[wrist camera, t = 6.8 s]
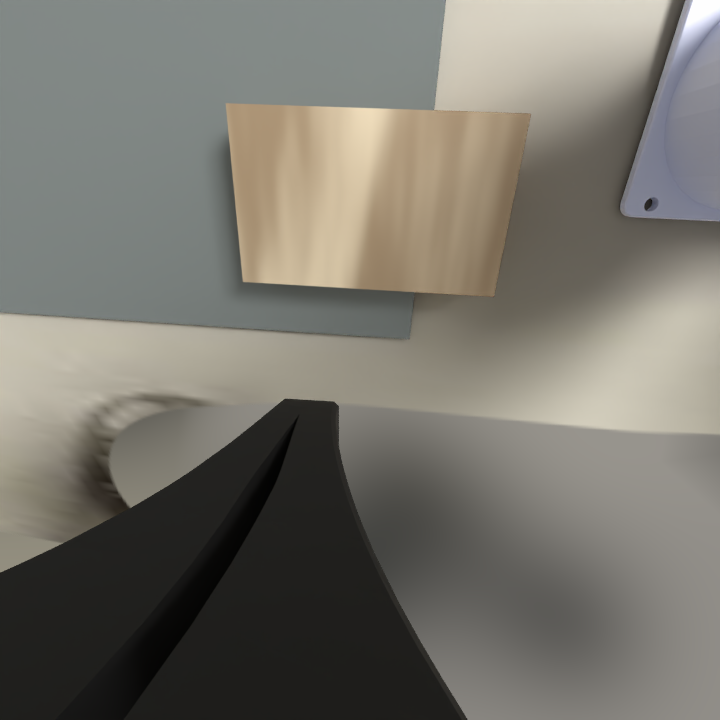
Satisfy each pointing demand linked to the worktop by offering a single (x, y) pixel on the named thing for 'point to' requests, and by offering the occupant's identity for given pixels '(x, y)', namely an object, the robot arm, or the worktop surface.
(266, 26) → the rubber mat
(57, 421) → the worktop surface
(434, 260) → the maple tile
